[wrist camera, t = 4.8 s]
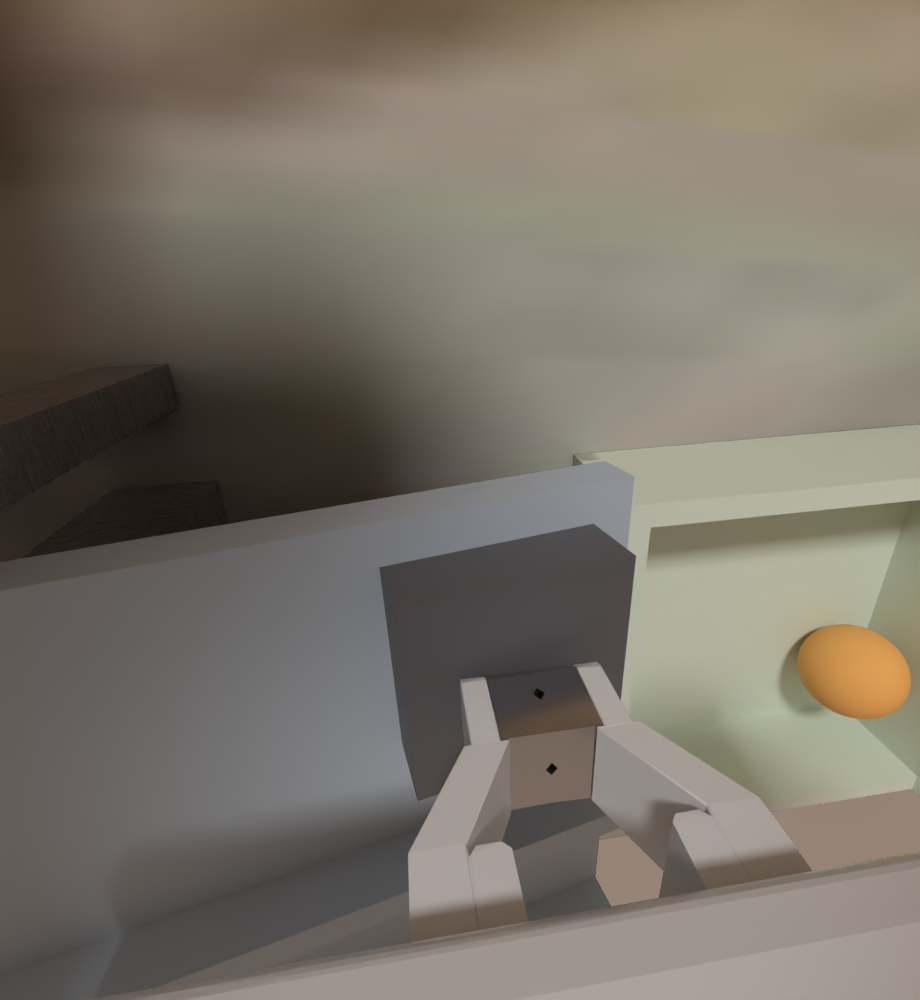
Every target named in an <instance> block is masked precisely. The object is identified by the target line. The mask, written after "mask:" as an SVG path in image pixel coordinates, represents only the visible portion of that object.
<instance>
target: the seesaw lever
mask: <svg viewBox="0 0 920 1000" xmlns="http://www.w3.org/2000/svg"><path fill="white" fill-rule="evenodd" d="M633 487H634V476H632V475H631V474H629V473H627V472H625V471H623V470H621V469H619V468H617V467H616V466H614V465H612V464H610V463H608V462H606V461H601V462H595V463H589V464H583V465H577V466H571V467H565V468H559V469H553V470H547V471H541V472H535V473H529V474H523V475H517V476H511V477H505V478H499V479H494V480H488V481H482V482H476V483H470V484H464V485H458V486H452V487H446V488H440V489H434V490H428V491H422V492H416V493H410V494H404V495H398V496H392V497H386V498H380V499H374V500H368V501H362V502H356V503H350V504H344V505H338V506H332V507H326V508H320V509H314V510H309V511H303V512H297V513H291V514H285V515H279V516H273V517H267V518H261V519H255V520H249V521H243V522H237V523H231V524H225V525H219V526H213V527H207V528H201V529H195V530H189V531H183V532H177V533H171V534H165V535H159V536H153V537H147V538H141V539H135V540H129V541H124V542H118V543H112V544H106V545H100V546H94V547H88V548H82V549H76V550H70V551H64V552H58V553H52V554H46V555H40V556H34V557H28V558H22V559H16V560H10V561H4V562H0V1000H89V999H94V998H100V997H106V996H111V995H117V994H122V993H128V992H134V991H139V990H145V989H151V988H156V987H162V986H168V985H173V984H179V983H185V982H190V981H196V980H202V979H207V978H213V977H218V976H224V975H230V974H235V973H241V972H247V971H252V970H258V969H264V968H269V967H275V966H280V965H286V964H292V963H297V962H303V961H309V960H314V959H320V958H325V957H331V956H337V955H342V954H348V953H354V952H359V951H365V950H370V949H376V948H382V947H387V946H393V945H399V944H404V943H410V916H409V873H408V853H409V851H410V849H411V847H412V845H413V843H414V841H415V839H416V837H417V835H418V834H419V832H420V830H421V828H422V826H423V824H424V822H425V820H426V818H427V816H428V814H429V812H430V810H431V809H432V807H433V805H434V803H435V801H436V799H437V797H438V795H439V793H440V791H441V789H442V787H443V785H444V784H445V782H446V780H447V778H448V776H449V774H450V772H451V770H452V768H453V766H454V764H455V762H456V760H457V759H458V757H459V755H460V753H461V751H462V749H463V747H464V736H463V726H462V712H461V696H460V679H468V678H478V677H484V678H485V676H492V675H501V674H511V673H520V672H528V671H535V670H543V669H550V668H557V667H564V666H573V665H576V664H583V663H590V662H598V663H599V664H600V665H601V666H602V668H603V670H604V672H605V674H606V675H607V677H608V679H609V681H610V682H611V684H612V686H613V688H614V690H615V691H616V693H617V695H618V697H619V699H620V700H621V693H622V684H623V674H624V665H625V655H626V646H627V637H628V627H629V618H630V609H631V599H632V590H633V581H634V571H635V562H636V555H634V554H633V553H632V552H630V551H629V550H628V549H627V548H628V538H629V528H630V518H631V507H632V497H633ZM619 828H620V827H619V826H618V825H617V824H616V823H615V822H614V821H613V820H611V819H610V818H609V817H608V816H607V815H606V814H605V813H604V812H603V811H602V810H601V809H600V808H599V807H598V806H597V805H596V804H595V803H594V802H593V801H592V798H585V799H577V800H569V801H561V802H553V803H547V804H541V805H536V806H531V807H525V808H520V809H515V810H511V815H510V818H509V821H508V824H507V827H506V830H505V834H504V837H503V840H502V842H503V843H505V844H506V845H508V846H510V847H511V848H512V850H513V855H514V859H515V864H516V868H517V873H518V877H519V882H520V886H521V891H522V895H523V899H524V904H525V908H526V913H527V917H528V921H534V920H539V919H545V918H550V917H556V916H562V915H567V914H573V913H579V912H584V911H590V910H595V909H601V908H607V907H611V905H610V904H609V902H608V900H607V898H606V896H605V894H604V893H603V891H602V889H601V887H600V885H599V883H598V881H597V880H596V878H595V874H596V863H597V853H598V843H599V836H602V835H604V834H607V833H609V832H612V831H614V830H617V829H619Z"/></svg>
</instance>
